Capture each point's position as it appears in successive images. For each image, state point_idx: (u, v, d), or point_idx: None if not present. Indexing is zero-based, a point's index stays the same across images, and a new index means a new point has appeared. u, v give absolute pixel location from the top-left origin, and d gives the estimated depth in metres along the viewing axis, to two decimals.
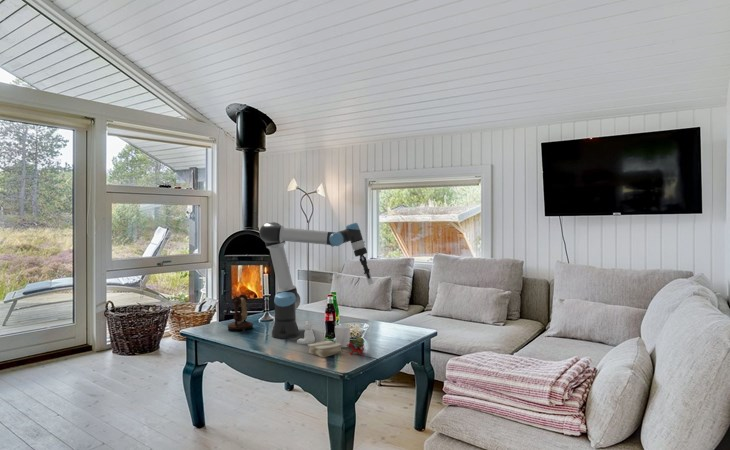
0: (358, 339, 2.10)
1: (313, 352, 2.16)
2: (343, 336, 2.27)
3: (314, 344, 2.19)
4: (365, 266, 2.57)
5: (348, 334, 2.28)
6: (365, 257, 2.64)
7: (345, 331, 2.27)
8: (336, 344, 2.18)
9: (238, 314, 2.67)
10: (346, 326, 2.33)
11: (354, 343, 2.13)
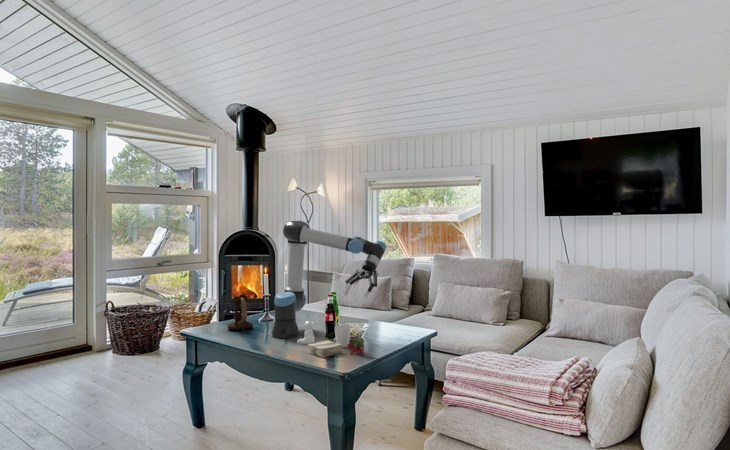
0: (358, 339, 2.10)
1: (313, 352, 2.16)
2: (343, 336, 2.27)
3: (314, 344, 2.19)
4: (376, 280, 2.40)
5: (348, 334, 2.28)
6: None
7: (345, 331, 2.27)
8: (336, 344, 2.18)
9: (238, 314, 2.67)
10: (346, 326, 2.33)
11: (354, 343, 2.13)
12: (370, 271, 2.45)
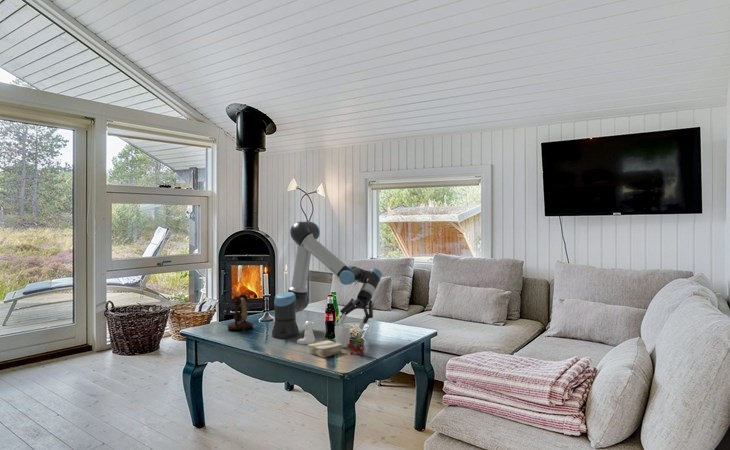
0: (358, 339, 2.10)
1: (313, 352, 2.16)
2: (343, 336, 2.27)
3: (314, 344, 2.19)
4: (371, 311, 2.34)
5: (348, 334, 2.28)
6: None
7: (345, 331, 2.27)
8: (336, 344, 2.18)
9: (238, 314, 2.67)
10: (346, 326, 2.33)
11: (354, 343, 2.13)
12: (365, 301, 2.40)
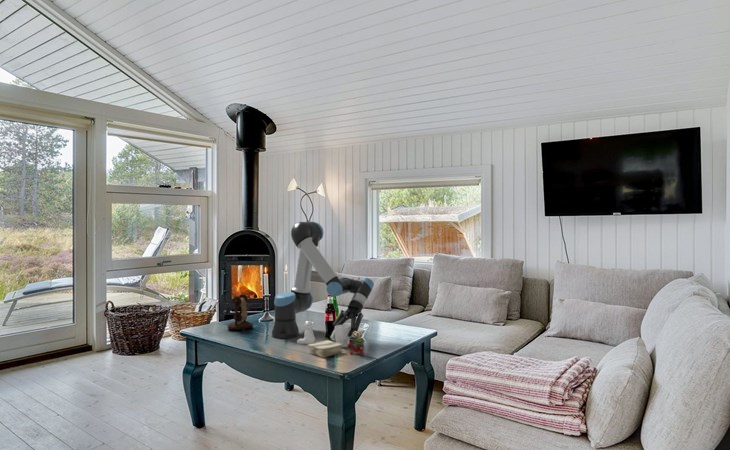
0: (358, 339, 2.10)
1: (313, 352, 2.16)
2: (343, 336, 2.27)
3: (314, 344, 2.19)
4: (358, 324, 2.29)
5: None
6: None
7: (345, 331, 2.27)
8: (336, 344, 2.18)
9: (238, 314, 2.67)
10: (346, 326, 2.33)
11: (354, 343, 2.13)
12: (356, 311, 2.35)
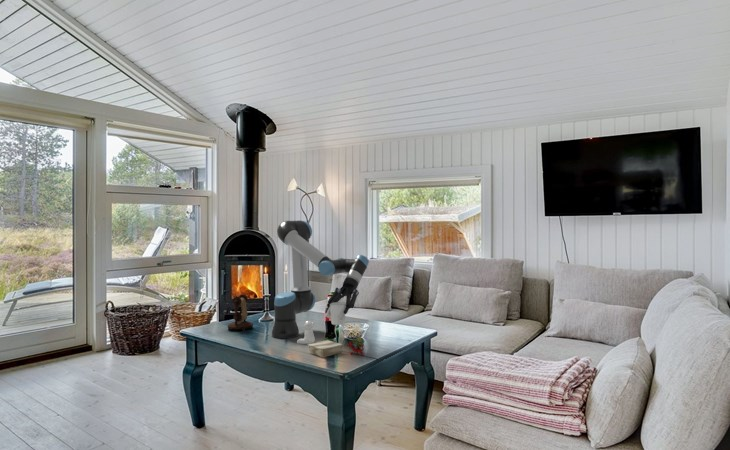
0: (358, 339, 2.10)
1: (313, 352, 2.16)
2: (339, 313, 2.22)
3: (314, 344, 2.19)
4: (354, 301, 2.25)
5: None
6: None
7: (341, 308, 2.22)
8: (336, 344, 2.18)
9: (238, 314, 2.67)
10: (341, 303, 2.28)
11: (354, 343, 2.13)
12: (351, 288, 2.30)
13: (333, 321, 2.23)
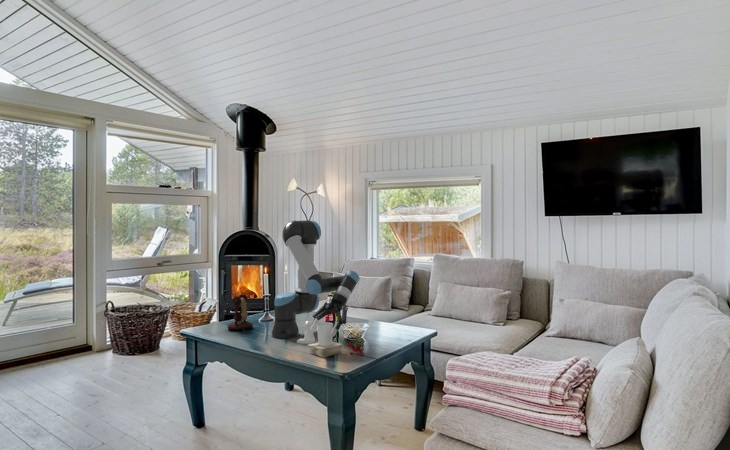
0: (358, 339, 2.10)
1: (313, 352, 2.16)
2: (325, 334, 2.15)
3: (314, 344, 2.19)
4: (345, 316, 2.17)
5: None
6: None
7: (327, 329, 2.15)
8: (336, 344, 2.18)
9: (238, 314, 2.67)
10: (329, 324, 2.21)
11: (354, 343, 2.13)
12: (339, 305, 2.23)
13: (320, 342, 2.16)
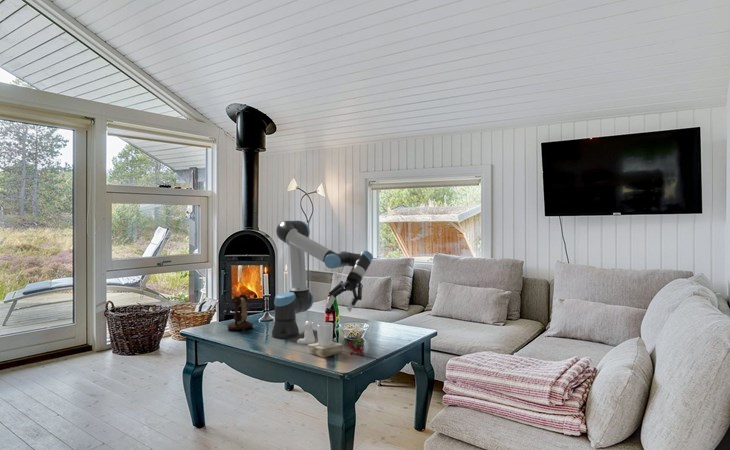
0: (358, 339, 2.10)
1: (313, 352, 2.16)
2: (325, 334, 2.15)
3: (314, 344, 2.19)
4: (360, 293, 2.27)
5: (331, 332, 2.16)
6: None
7: (327, 329, 2.15)
8: (336, 344, 2.18)
9: (238, 314, 2.67)
10: (329, 324, 2.21)
11: (354, 343, 2.13)
12: (355, 283, 2.33)
13: (320, 342, 2.16)
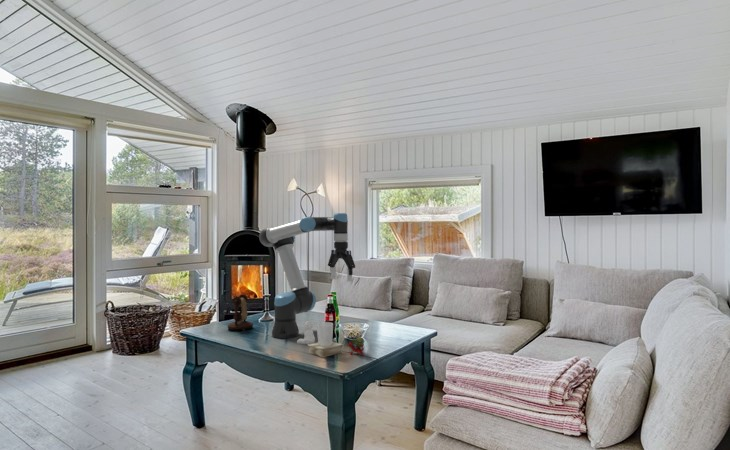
0: (358, 339, 2.10)
1: (313, 352, 2.16)
2: (325, 334, 2.15)
3: (314, 344, 2.19)
4: (352, 261, 2.39)
5: (331, 332, 2.16)
6: None
7: (327, 329, 2.15)
8: (336, 344, 2.18)
9: (238, 314, 2.67)
10: (329, 324, 2.21)
11: (354, 343, 2.14)
12: (343, 251, 2.43)
13: (320, 342, 2.16)
